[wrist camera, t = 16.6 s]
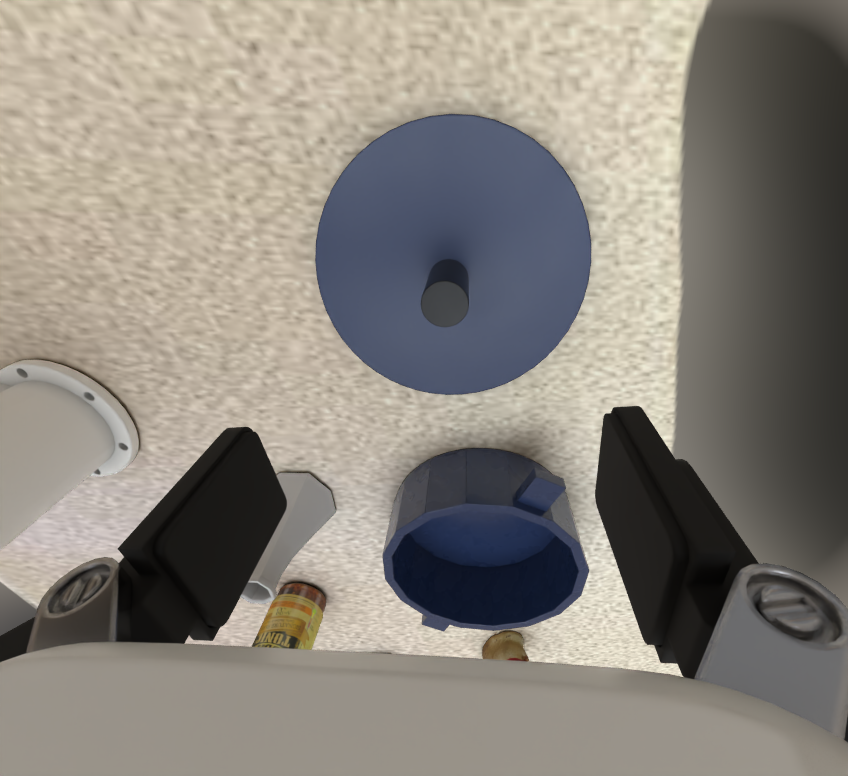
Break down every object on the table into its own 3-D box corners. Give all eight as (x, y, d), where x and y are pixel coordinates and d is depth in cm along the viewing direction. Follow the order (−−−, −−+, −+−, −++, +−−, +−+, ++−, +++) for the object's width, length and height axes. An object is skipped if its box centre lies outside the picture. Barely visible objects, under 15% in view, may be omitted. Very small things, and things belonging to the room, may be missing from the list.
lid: (297, 336, 30) (260, 375, 24) (363, 56, 21) (328, 22, 15) (505, 417, 32) (512, 470, 26) (647, 194, 23) (702, 206, 17)
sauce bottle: (321, 580, 46) (236, 829, 29) (333, 610, 49) (261, 850, 32) (269, 578, 47) (156, 819, 30) (284, 607, 50) (189, 841, 33)
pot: (366, 551, 42) (351, 610, 37) (446, 396, 31) (442, 448, 26) (503, 597, 44) (508, 659, 39) (625, 467, 33) (657, 528, 28)
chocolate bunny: (542, 644, 48) (558, 749, 40) (493, 661, 52) (498, 761, 43) (514, 624, 47) (525, 729, 38) (465, 643, 50) (465, 743, 41)
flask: (289, 526, 41) (243, 623, 33) (250, 478, 38) (188, 571, 30) (348, 514, 39) (316, 612, 31) (313, 462, 36) (265, 556, 28)
